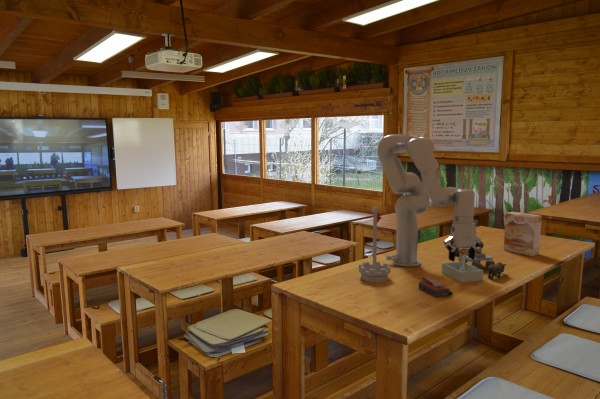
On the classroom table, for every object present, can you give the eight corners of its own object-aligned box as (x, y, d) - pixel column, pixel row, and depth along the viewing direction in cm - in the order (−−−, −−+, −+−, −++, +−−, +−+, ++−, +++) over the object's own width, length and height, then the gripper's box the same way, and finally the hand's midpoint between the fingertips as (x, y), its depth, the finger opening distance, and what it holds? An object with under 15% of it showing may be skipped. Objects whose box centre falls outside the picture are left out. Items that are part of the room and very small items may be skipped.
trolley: (474, 272, 201) (475, 254, 200) (456, 263, 215) (457, 246, 214) (497, 270, 204) (497, 252, 203) (477, 261, 217) (478, 245, 216)
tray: (460, 282, 188) (461, 272, 188) (441, 272, 202) (441, 263, 201) (482, 280, 191) (483, 270, 190) (462, 270, 204) (462, 261, 204)
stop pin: (460, 276, 194) (461, 250, 193) (455, 273, 197) (456, 248, 196) (467, 275, 195) (469, 249, 194) (462, 273, 198) (464, 247, 197)
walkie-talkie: (457, 296, 173) (424, 281, 191) (458, 285, 172) (424, 270, 191) (438, 300, 170) (406, 283, 188) (438, 288, 169) (406, 273, 188)
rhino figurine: (509, 274, 199) (510, 260, 198) (494, 281, 190) (495, 266, 189) (500, 272, 202) (500, 258, 201) (484, 278, 193) (485, 264, 192)
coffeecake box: (503, 250, 238) (505, 212, 235) (510, 248, 242) (512, 211, 239) (532, 256, 226) (535, 216, 223) (539, 254, 230) (542, 215, 227)
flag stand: (379, 285, 186) (380, 210, 182) (352, 278, 194) (352, 207, 190) (396, 277, 196) (397, 206, 191) (369, 271, 204) (370, 203, 200)
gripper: (451, 222, 187) (449, 263, 189) (487, 219, 192) (484, 260, 194) (440, 218, 194) (438, 258, 196) (475, 216, 199) (473, 255, 202)
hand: (461, 259), depth 195 cm, fingers open, 9 cm apart
